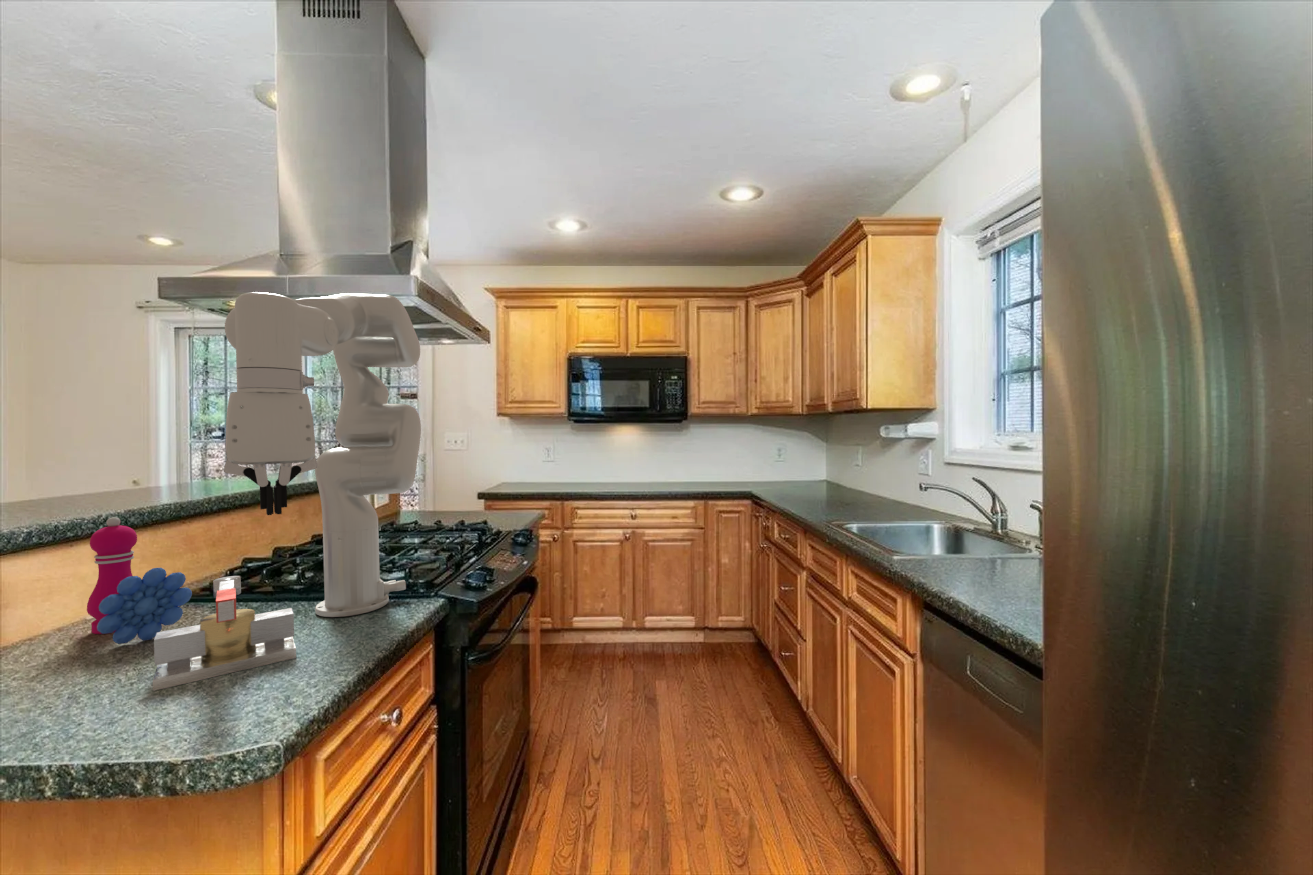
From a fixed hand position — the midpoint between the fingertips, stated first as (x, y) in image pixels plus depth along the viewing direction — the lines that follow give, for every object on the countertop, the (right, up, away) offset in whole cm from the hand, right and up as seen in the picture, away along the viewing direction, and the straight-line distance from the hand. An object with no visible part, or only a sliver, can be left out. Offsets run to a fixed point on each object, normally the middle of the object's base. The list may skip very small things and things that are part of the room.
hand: (273, 513), depth 75 cm
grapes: (-32, -24, +15) cm, 43 cm away
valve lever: (-6, -13, 0) cm, 15 cm away
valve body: (-10, -23, +5) cm, 26 cm away
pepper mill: (-43, -24, +21) cm, 53 cm away
